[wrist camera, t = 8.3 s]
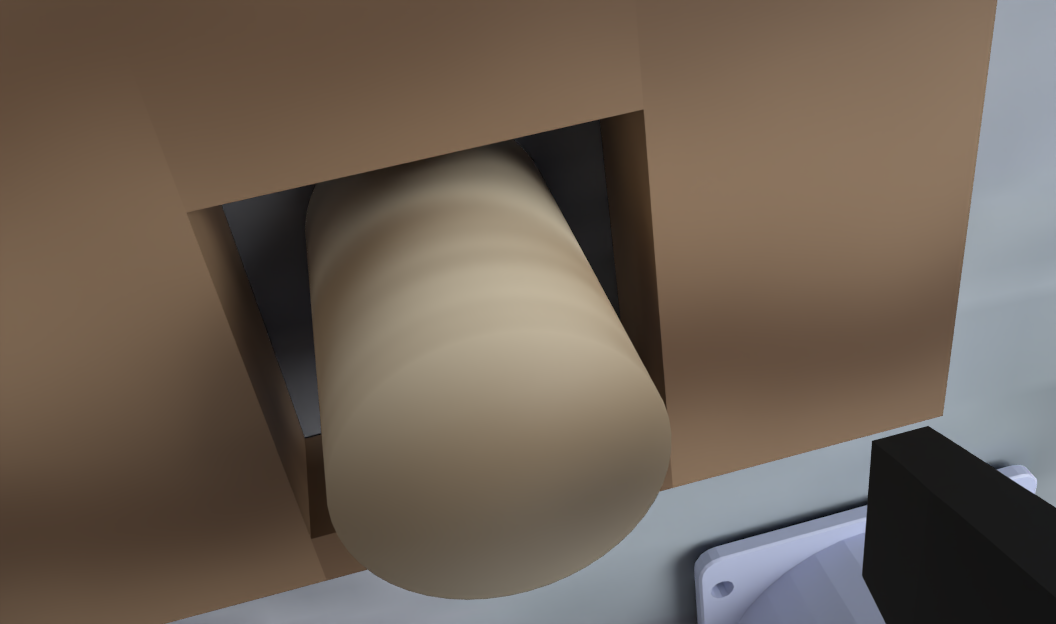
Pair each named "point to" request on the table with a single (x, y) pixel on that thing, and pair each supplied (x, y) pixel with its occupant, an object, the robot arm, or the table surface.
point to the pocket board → (418, 133)
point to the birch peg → (473, 379)
